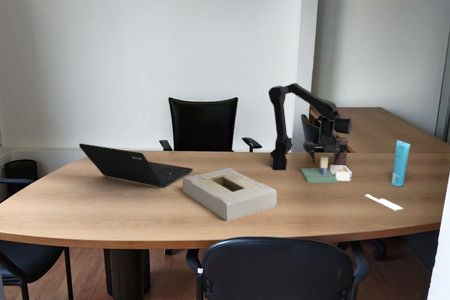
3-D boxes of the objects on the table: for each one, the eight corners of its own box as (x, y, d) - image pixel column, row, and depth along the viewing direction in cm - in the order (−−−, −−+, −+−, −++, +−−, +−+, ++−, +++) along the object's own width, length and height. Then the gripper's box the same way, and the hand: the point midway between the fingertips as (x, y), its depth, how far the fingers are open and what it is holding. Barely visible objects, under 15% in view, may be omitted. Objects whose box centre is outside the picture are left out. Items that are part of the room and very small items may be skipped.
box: (181, 193, 158) (226, 223, 133) (181, 175, 156) (227, 202, 131) (228, 183, 171) (277, 208, 146) (228, 166, 169) (278, 188, 143)
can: (346, 168, 188) (349, 140, 184) (333, 167, 190) (335, 139, 186) (345, 164, 194) (348, 137, 190) (332, 163, 195) (334, 136, 191)
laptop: (193, 172, 182) (193, 132, 176) (144, 201, 149) (142, 153, 144) (137, 162, 196) (135, 124, 190) (81, 186, 163) (76, 142, 158)
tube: (408, 186, 166) (414, 143, 160) (400, 188, 164) (406, 144, 158) (394, 180, 172) (399, 139, 167) (386, 182, 170) (392, 140, 165)
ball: (347, 177, 175) (339, 178, 175) (344, 174, 178) (337, 176, 178) (346, 170, 174) (338, 171, 174) (344, 167, 177) (336, 168, 177)
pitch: (307, 182, 169) (307, 177, 168) (300, 171, 183) (301, 166, 183) (337, 182, 169) (337, 177, 169) (327, 171, 184) (328, 166, 183)
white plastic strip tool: (374, 194, 158) (374, 192, 157) (404, 209, 145) (405, 206, 144) (365, 196, 156) (365, 194, 155) (394, 211, 143) (395, 208, 142)
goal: (335, 180, 172) (336, 172, 171) (329, 173, 181) (330, 165, 180) (351, 180, 172) (351, 172, 171) (344, 173, 181) (344, 165, 180)
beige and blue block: (321, 175, 173) (323, 159, 170) (317, 170, 179) (319, 154, 177) (327, 175, 173) (329, 159, 170) (323, 170, 179) (325, 154, 177)
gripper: (309, 135, 162) (306, 170, 167) (353, 135, 163) (349, 170, 167) (303, 129, 173) (301, 162, 178) (345, 129, 173) (342, 162, 178)
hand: (323, 164), depth 175 cm, fingers open, 9 cm apart
